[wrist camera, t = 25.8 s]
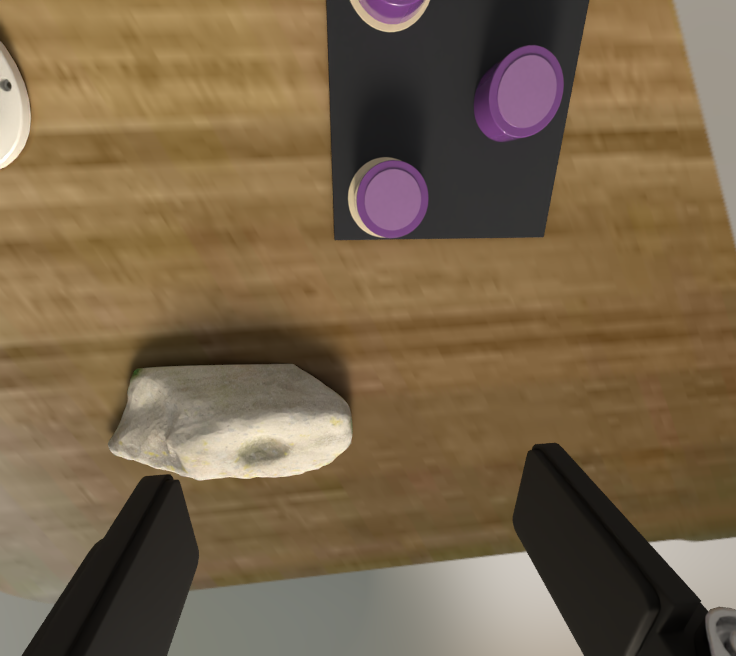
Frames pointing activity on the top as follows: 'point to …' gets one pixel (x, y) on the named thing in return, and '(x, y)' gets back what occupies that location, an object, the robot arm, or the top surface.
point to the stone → (232, 421)
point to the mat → (445, 111)
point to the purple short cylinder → (392, 9)
